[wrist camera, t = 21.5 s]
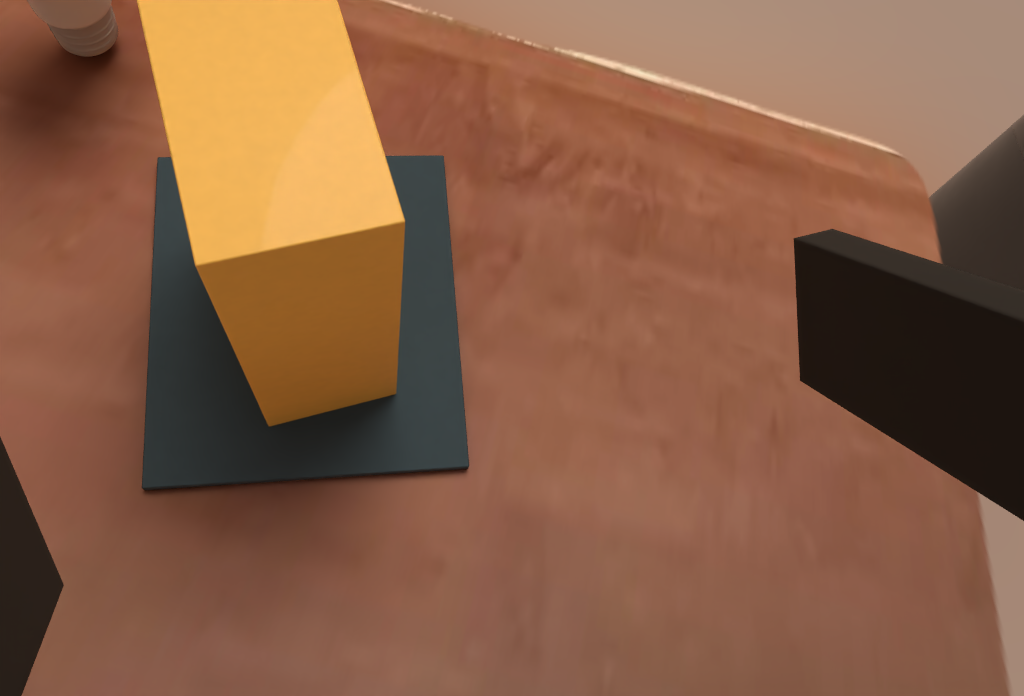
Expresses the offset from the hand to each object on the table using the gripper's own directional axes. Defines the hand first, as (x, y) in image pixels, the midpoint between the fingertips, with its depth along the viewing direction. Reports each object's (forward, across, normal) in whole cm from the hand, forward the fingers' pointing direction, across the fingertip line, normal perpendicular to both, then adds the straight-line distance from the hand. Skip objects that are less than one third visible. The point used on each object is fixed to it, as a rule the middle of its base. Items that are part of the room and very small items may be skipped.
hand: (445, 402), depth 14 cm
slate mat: (+22, -2, -4) cm, 22 cm away
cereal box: (+22, -2, -4) cm, 22 cm away
